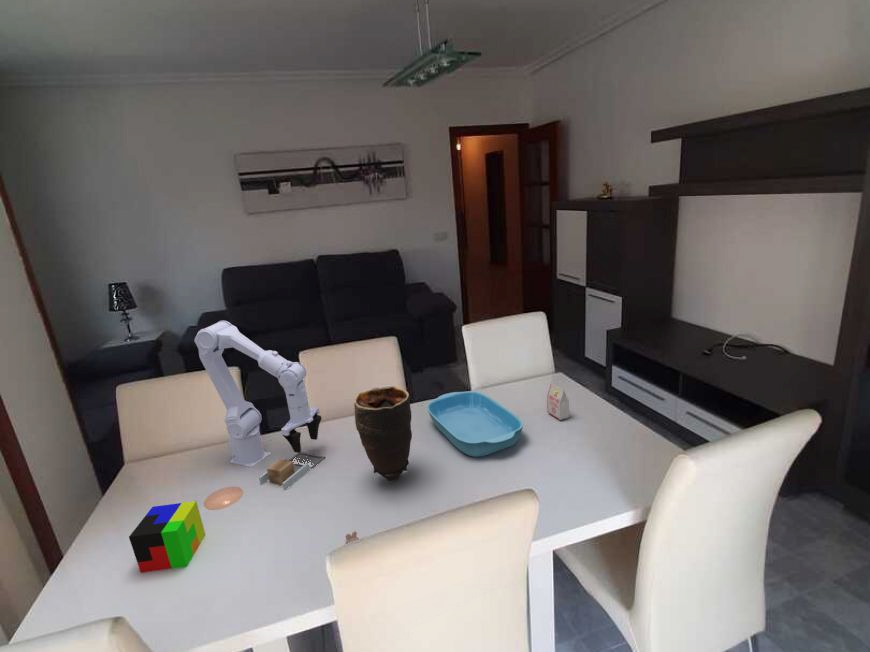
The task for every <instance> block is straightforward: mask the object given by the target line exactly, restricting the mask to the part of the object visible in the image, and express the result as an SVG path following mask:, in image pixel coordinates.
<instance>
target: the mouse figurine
mask: <svg viewBox="0 0 870 652" xmlns="http://www.w3.org/2000/svg"><path fill="white" fill-rule="evenodd" d="M357 533H358V532H357V531H356V530H354V531H352V533H346V534H345V536H344V537H345V539H346V540H345V544H348V543H350V542H353V541H356V540H359V539H360V538H359V536H357V535H358V534H357ZM345 544H344V545H345Z"/></svg>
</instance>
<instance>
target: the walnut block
mask: <svg viewBox="0 0 870 652" xmlns="http://www.w3.org/2000/svg"><path fill="white" fill-rule="evenodd" d="M283 459H284V458H283ZM283 459H282V458H279V459H277V460H276V461H274V462H273V463H272V464H271V465H269V466H268V467H266V470H267V471H266V472H268V476H269V480H268V481H269V484H273V483H274V485H277V484H279V485H278V486H281V485H283V484H282V483H283V482H284V481H286V480H287V479H288V478H289V477H290V476H292V475H293V474H294V473H295V472H296V470H295V466H294V465H295V464H293V462H292V461H288V460H287V459H286V460H283Z"/></svg>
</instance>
